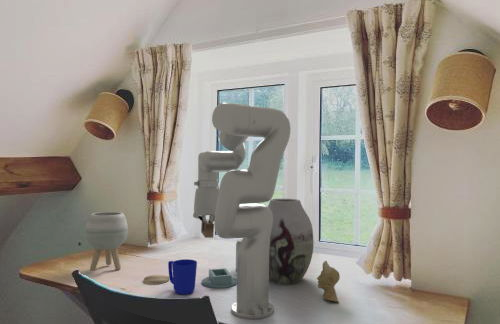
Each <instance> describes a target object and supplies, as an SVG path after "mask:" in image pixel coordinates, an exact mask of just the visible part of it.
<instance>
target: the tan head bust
mask: <svg viewBox="0 0 500 324" xmlns="http://www.w3.org/2000/svg"><path fill="white" fill-rule="evenodd" d="M339 272H340V271H338V270H337V269H336V268H334V267H332V266H330V264H329V263H328V261H327V260H324V261H323V262H322V270H321V272H320V274H319V275H318V276H317V278H316V280H318V281H317V287H318V289H322V290H323V291H324V292H323V294H322V298H323V299H324V300H327V301H331V302H335V303H340V301H339V299H338V295H337V292H336V289H335V286H336V284H337V283H339V281H340V279H341V278H340V276H341V275H340V273H339Z"/></svg>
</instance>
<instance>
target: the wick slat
mask: <svg viewBox="0 0 500 324" xmlns="http://www.w3.org/2000/svg"><path fill="white" fill-rule="evenodd" d="M206 221H207V222H204V231H203V222H202V221H201V234H202V235H203V237H204V238H207V239H208V238H210V239H211V238H214V231H215V227H214V222H213V223H212V222H209V218H208V219H207V218H206Z"/></svg>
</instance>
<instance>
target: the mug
mask: <svg viewBox="0 0 500 324" xmlns="http://www.w3.org/2000/svg"><path fill="white" fill-rule="evenodd" d="M167 264H168V266H167V267H168V276H169V282H170V283H171V284H172V285H173V290H174V292H175V294H176V295H177V294H178V295H189V294H191V293H193V292H194V291H195V287H196V279H197V278H196V276H197V268H198V262H197V260H194V259H187V258H185V259H178V260H169V261H168V262H167Z"/></svg>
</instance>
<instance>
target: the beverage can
mask: <svg viewBox="0 0 500 324" xmlns="http://www.w3.org/2000/svg"><path fill="white" fill-rule="evenodd" d="M242 239H243V238H238V239H237V240H236V243H235V269H237V251H238V247H239V245H240V243H241V241H242Z"/></svg>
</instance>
